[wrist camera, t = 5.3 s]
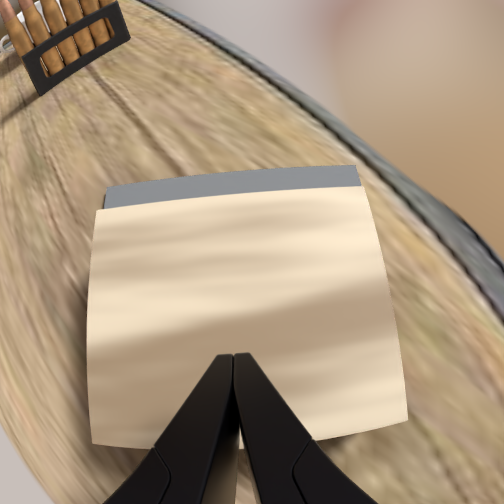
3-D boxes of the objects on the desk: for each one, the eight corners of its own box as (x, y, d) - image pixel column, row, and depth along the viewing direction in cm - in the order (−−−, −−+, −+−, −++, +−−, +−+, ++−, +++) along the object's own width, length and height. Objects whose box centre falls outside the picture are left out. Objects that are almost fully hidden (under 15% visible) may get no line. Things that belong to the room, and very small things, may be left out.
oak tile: (407, 420, 10) (363, 186, 14) (92, 443, 10) (96, 210, 13) (376, 413, 13) (345, 222, 17) (125, 432, 13) (123, 241, 17)
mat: (399, 391, 14) (402, 392, 14) (100, 415, 14) (97, 415, 13) (353, 169, 19) (355, 165, 18) (109, 190, 18) (107, 187, 18)
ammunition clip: (124, 35, 26) (97, -58, 15) (131, 39, 26) (104, -59, 15) (36, 90, 24) (-11, 1, 13) (40, 96, 23) (-10, 2, 12)
